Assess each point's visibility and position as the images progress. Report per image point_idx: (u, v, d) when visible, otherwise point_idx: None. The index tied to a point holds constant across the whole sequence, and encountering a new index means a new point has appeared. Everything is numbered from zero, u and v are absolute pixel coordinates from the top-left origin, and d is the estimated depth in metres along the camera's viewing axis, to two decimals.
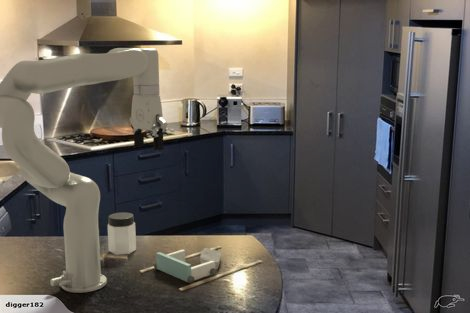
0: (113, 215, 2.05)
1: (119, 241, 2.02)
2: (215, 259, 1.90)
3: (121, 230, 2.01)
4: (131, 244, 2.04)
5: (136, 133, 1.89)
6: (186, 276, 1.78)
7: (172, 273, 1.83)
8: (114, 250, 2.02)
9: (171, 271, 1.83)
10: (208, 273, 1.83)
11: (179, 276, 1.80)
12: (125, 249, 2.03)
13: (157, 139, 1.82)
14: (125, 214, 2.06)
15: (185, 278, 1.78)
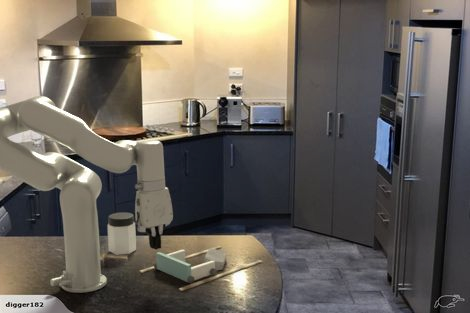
0: (113, 215, 2.05)
1: (119, 241, 2.02)
2: (220, 259, 1.90)
3: (121, 230, 2.01)
4: (131, 244, 2.04)
5: (155, 235, 1.75)
6: (186, 276, 1.78)
7: (172, 273, 1.83)
8: (114, 250, 2.02)
9: (171, 271, 1.83)
10: (208, 273, 1.83)
11: (179, 276, 1.80)
12: (125, 249, 2.03)
13: None
14: (125, 214, 2.06)
15: (185, 278, 1.78)
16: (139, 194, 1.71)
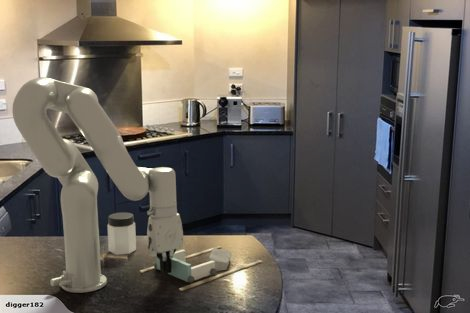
0: (113, 215, 2.05)
1: (119, 241, 2.02)
2: (224, 259, 1.90)
3: (121, 230, 2.01)
4: (131, 244, 2.04)
5: (166, 259, 1.80)
6: (186, 276, 1.78)
7: (172, 273, 1.83)
8: (114, 250, 2.02)
9: (171, 271, 1.83)
10: (208, 273, 1.83)
11: (179, 276, 1.81)
12: (125, 249, 2.03)
13: None
14: (125, 214, 2.06)
15: (185, 278, 1.79)
16: (151, 220, 1.75)
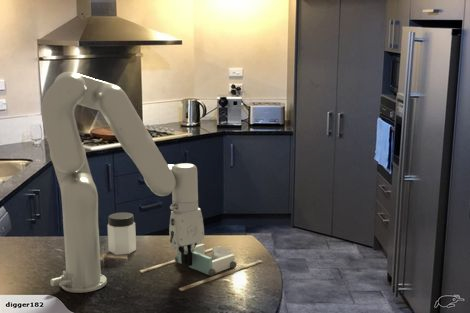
0: (113, 215, 2.05)
1: (119, 241, 2.02)
2: None
3: (121, 230, 2.01)
4: (131, 244, 2.04)
5: (187, 253, 1.85)
6: (207, 269, 1.84)
7: (193, 266, 1.88)
8: (114, 250, 2.02)
9: (192, 265, 1.89)
10: (228, 266, 1.88)
11: (200, 269, 1.86)
12: (125, 249, 2.03)
13: None
14: (125, 214, 2.06)
15: (206, 271, 1.84)
16: (174, 214, 1.80)
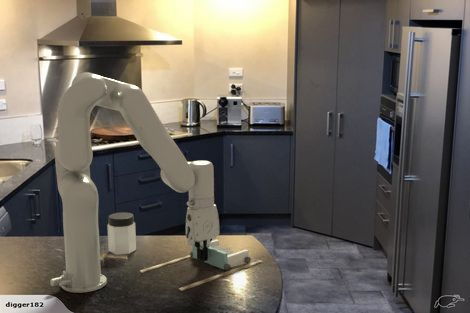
0: (113, 215, 2.05)
1: (119, 241, 2.02)
2: None
3: (121, 230, 2.01)
4: (131, 244, 2.04)
5: (203, 248, 1.89)
6: (222, 264, 1.88)
7: (208, 261, 1.92)
8: (114, 250, 2.02)
9: None
10: (243, 261, 1.92)
11: (215, 264, 1.90)
12: (125, 249, 2.03)
13: None
14: (125, 214, 2.06)
15: (221, 266, 1.88)
16: (190, 210, 1.84)
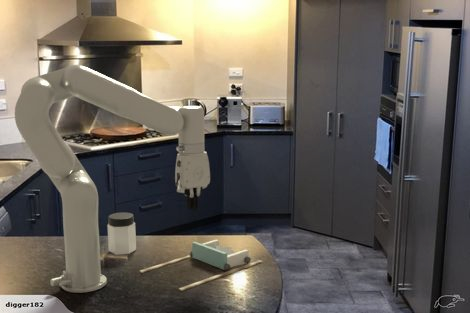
0: (113, 215, 2.05)
1: (119, 241, 2.02)
2: None
3: (121, 230, 2.01)
4: (131, 244, 2.04)
5: (193, 196, 1.84)
6: (222, 264, 1.88)
7: (208, 261, 1.92)
8: (114, 250, 2.02)
9: (207, 260, 1.93)
10: (242, 261, 1.92)
11: (215, 264, 1.90)
12: (125, 249, 2.03)
13: None
14: (125, 214, 2.06)
15: (221, 266, 1.88)
16: (180, 156, 1.79)
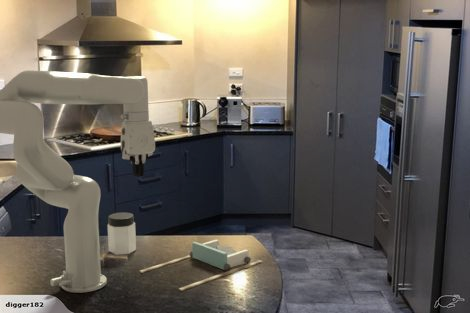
0: (113, 215, 2.05)
1: (119, 241, 2.02)
2: None
3: (121, 230, 2.01)
4: (131, 244, 2.04)
5: (139, 163, 1.92)
6: (222, 264, 1.88)
7: (208, 261, 1.92)
8: (114, 250, 2.02)
9: (207, 260, 1.93)
10: (242, 261, 1.92)
11: (215, 264, 1.90)
12: (125, 249, 2.03)
13: None
14: (125, 214, 2.06)
15: (221, 266, 1.88)
16: (124, 124, 1.87)
